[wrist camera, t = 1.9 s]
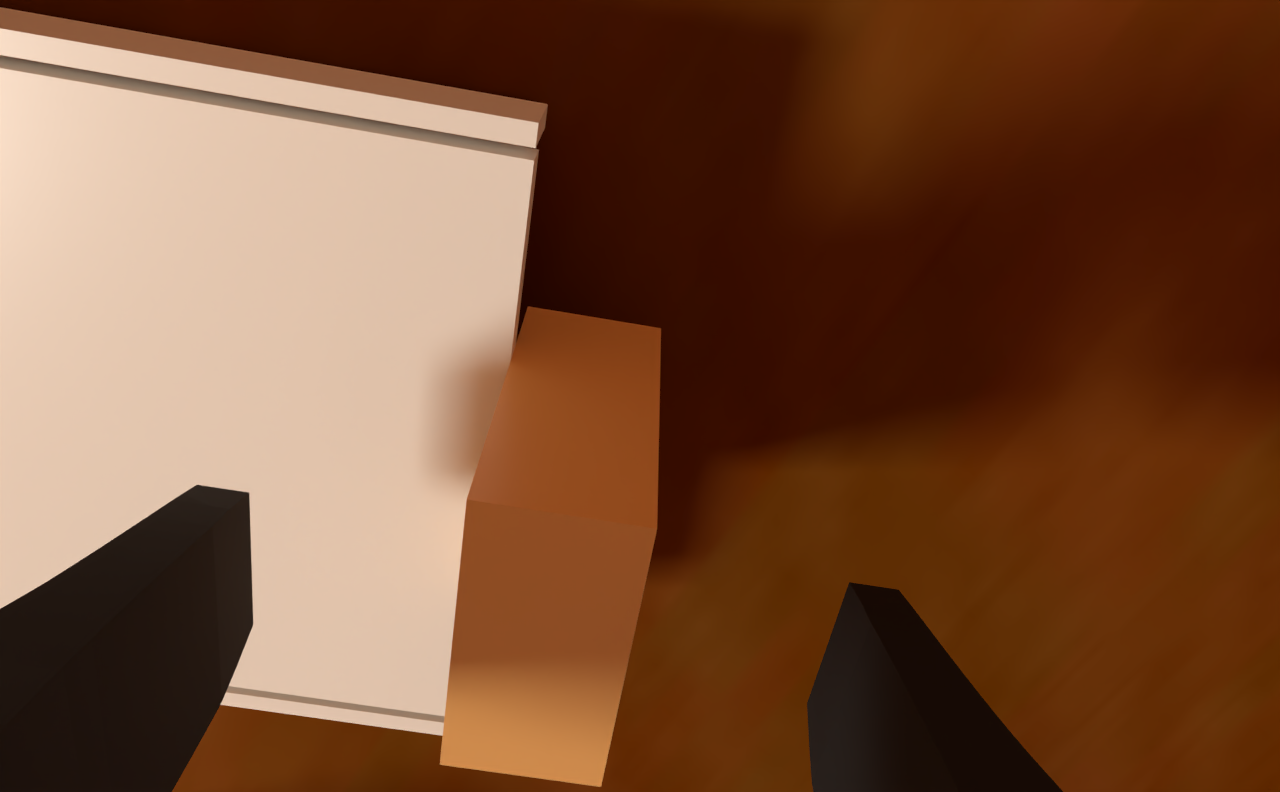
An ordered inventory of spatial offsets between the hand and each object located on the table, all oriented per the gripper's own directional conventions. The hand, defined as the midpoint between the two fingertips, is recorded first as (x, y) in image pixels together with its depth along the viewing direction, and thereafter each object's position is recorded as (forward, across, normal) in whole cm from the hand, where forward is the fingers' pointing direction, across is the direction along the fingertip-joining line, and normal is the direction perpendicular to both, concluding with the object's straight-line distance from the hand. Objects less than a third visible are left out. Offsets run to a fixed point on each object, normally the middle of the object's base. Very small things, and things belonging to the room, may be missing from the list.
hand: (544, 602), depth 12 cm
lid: (+4, +6, 0) cm, 8 cm away
